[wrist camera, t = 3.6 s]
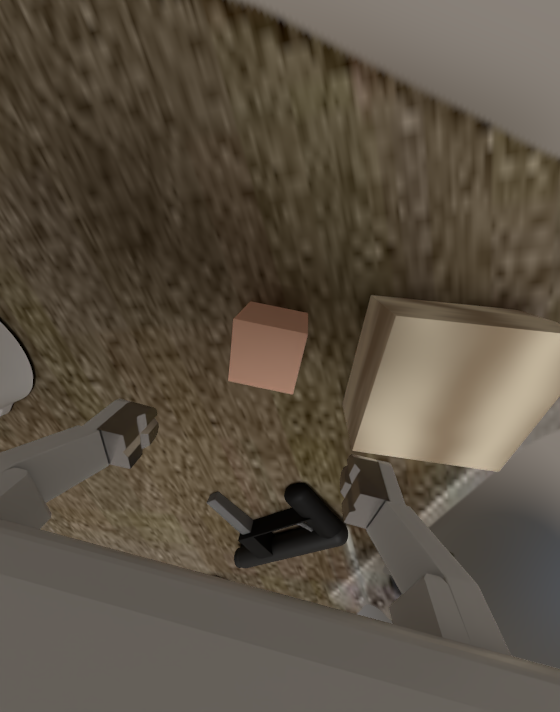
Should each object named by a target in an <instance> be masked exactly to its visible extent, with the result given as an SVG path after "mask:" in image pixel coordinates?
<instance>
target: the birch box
mask: <svg viewBox="0 0 560 712" xmlns="http://www.w3.org/2000/svg"><path fill="white" fill-rule="evenodd" d="M559 396H560V323H557V322H554V321H551V320H548V319H544V318H541V317H538V316H535V315H532V314H529V313H526V312H523V311H520V310H514V309H504V308H495V307H485V306H475V305H465V304H455V303H446V302H436V301H426V300H416V299H406V298H397V297H387V296H377V295H371V296H370V300H369V304H368V308H367V312H366V315H365V319H364V323H363V327H362V331H361V335H360V338H359V342H358V346H357V350H356V354H355V358H354V361H353V365H352V369H351V373H350V377H349V381H348V384H347V388H346V392H345V396H344V400H343V404H342V405H343V409H344V414H345V419H346V424H347V428H348V433H349V438H350V442H351V447H352V451H359V452H365V453H372V454H379V455H386V456H393V457H400V458H407V459H414V460H421V461H427V462H434V463H441V464H448V465H455V466H462V467H469V468H476V469H483V470H489V471H496V472H499V471H500V470H501V468H502V467H503V466H504V465H505V463H506V462H507V461H508V460H509V458H510V457H511V456H512V455H513V453H514V452H515V451H516V450H517V448H518V447H519V446H520V445H521V443H522V442H523V441H524V440H525V438H526V437H527V436H528V435H529V433H530V432H531V431H532V430H533V428H534V427H535V426H536V425H537V424H538V422H539V421H540V420H541V419H542V417H543V416H544V415H545V414H546V412H547V411H548V410H549V409H550V407H551V406H552V405H553V404H554V402H555V401H556V400H557V399H558V397H559Z"/></svg>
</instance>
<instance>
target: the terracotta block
mask: <svg viewBox="0 0 560 712" xmlns="http://www.w3.org/2000/svg"><path fill="white" fill-rule="evenodd" d="M307 336H308V313H305V312H300V311H296V310H291V309H286V308H281V307H276V306H271V305H266V304H261V303H257V302H252V301H250V302H249V303H248V304H247V305H246V306H245V307H244V308H243V309H242V310H241V311H240V312H239V314H238V315H237V316H236V317H235V318H234V319H233V331H232V343H231V355H230V367H229V379H228V381H231V382H236V383H241V384H245V385H250V386H255V387H259V388H264V389H269V390H274V391H278V392H283V393H288V394H292V395H293V392H294V388H295V384H296V380H297V376H298V372H299V368H300V364H301V360H302V356H303V352H304V348H305V344H306V340H307Z"/></svg>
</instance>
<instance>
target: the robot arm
mask: <svg viewBox="0 0 560 712" xmlns="http://www.w3.org/2000/svg"><path fill="white" fill-rule="evenodd" d="M32 386H33V373H32V369H31V366H30V363H29V361H28V358H27V356H26V354H25V353H24V351H23V349H22V348H21V346H20V345H19V343H18V342H17V340H16V339H15V338H14V336H13V335H12V334H11V333H10V332H9V331H8V329H7V328H6V327H5V326H4V325H3V324H2V323H1V322H0V416H2V415H5V414H7V413H8V412H9V411H10V410H11V407H12V404H13V403H14V402H16V401H18V400H21V399H23V398H25V397H26V396H27V395H28V394H29V393H30V391H31V389H32ZM156 416H157V410H156V408H154V407H150V406H146V405H143V404H139V403H135V402H131V401H127V400H123V399H118V400H115V401H114V402H112V403H111V404H110V405H109V406H107V407H106V408H105V409H103V410H102V411H101V412H100V413H98V414H97V415H96V416H95V417H93V418H92V419H91V420H89V421H88V422H87V423H86V424H84V425H83V426H75V427H73V428H70V429H67V430H64V431H61V432H58V433H55V434H53V435H50V436H47V437H44V438H41V439H38V440H35V441H33V442H30V443H27V444H24V445H21V446H18V447H16V448H13V449H10V450H7V451H4V452H1V453H0V712H560V669H558V668H554V667H550V666H547V665H543V664H539V663H535V662H532V661H528V660H524V659H520V658H517V657H513V656H511V654H510V652H509V650H508V648H507V646H506V643H505V641H504V639H503V637H502V635H501V633H500V631H499V628H498V626H497V624H496V622H495V620H494V618H493V616H492V614H491V612H490V610H489V607H488V605H487V603H486V601H485V599H484V597H483V595H482V593H481V591H480V588H479V586H478V585H477V583H476V582H475V581H474V580H473V579H472V578H471V577H470V575H469V574H468V573H467V572H466V571H465V570H464V569H463V568H462V566H461V565H460V564H459V563H458V562H457V561H456V559H455V558H454V557H453V556H452V555H451V554H450V552H449V551H448V550H447V549H446V548H445V547H444V546H443V544H442V543H441V542H440V541H439V540H438V539H437V537H436V536H435V535H434V534H433V533H432V532H431V531H430V529H429V528H428V527H427V526H426V525H425V524H424V523H423V521H422V520H421V519H420V518H419V517H418V516H417V515H416V513H415V512H414V511H413V510H412V509H411V508H410V507H408V506H406V505H405V502H404V499H403V497H402V494H401V491H400V488H399V485H398V482H397V479H396V477H395V474H394V471H393V468H392V465H391V464H390V463H387V462H383V461H379V460H375V459H371V458H366V457H362V456H357V455H353V454H351V455H350V456H349V457H348V459H347V464H348V465H347V466H345V467H343V470H342V472H341V477H340V492H341V494H342V495H343V496H344V500H343V502H342V512H343V521H344V523H347V524H351V525H354V526H358V527H362V528H365V529H367V530H366V531H367V533H368V534H369V536H370V538H371V540H372V541H373V543H374V545H375V547H376V549H377V550H378V552H379V554H380V556H381V557H382V559H383V561H384V563H385V565H386V566H387V568H388V570H389V572H390V573H391V575H392V577H393V579H394V581H395V582H396V584H397V586H398V588H399V589H400V591H401V593H402V595H401V596H400V597H399V598H398V599H396V600H395V601H394V602H393V603H392V604H391V606H390V607H389V608H390V613H391V618H392V623H393V624H391V623H387V622H383V621H379V620H376V619H372V618H368V617H364V616H361V615H357V614H353V613H350V612H346V611H342V610H338V609H335V608H331V607H327V606H324V605H320V604H316V603H312V602H309V601H305V600H301V599H298V598H294V597H290V596H286V595H283V594H279V593H275V592H271V591H268V590H264V589H260V588H257V587H253V586H249V585H245V584H242V583H238V582H234V581H230V580H227V579H223V578H219V577H216V576H212V575H208V574H204V573H201V572H197V571H193V570H190V569H186V568H182V567H178V566H175V565H171V564H167V563H163V562H160V561H156V560H152V559H149V558H145V557H141V556H137V555H134V554H130V553H126V552H122V551H119V550H115V549H111V548H108V547H104V546H100V545H96V544H93V543H89V542H85V541H81V540H78V539H74V538H70V537H67V536H63V535H59V534H55V533H52V532H48V531H44V530H40V528H41V527H42V526H43V525H44V524H45V523H46V522H47V521H48V520H49V519H50V518H51V512H50V510H49V508H48V506H47V505H46V502H48V501H50V500H51V499H53V498H55V497H56V496H58V495H60V494H61V493H63V492H65V491H67V490H68V489H70V488H72V487H73V486H75V485H77V484H78V483H80V482H82V481H84V480H85V479H87V478H89V477H90V476H92V475H94V474H95V473H97V472H99V471H100V470H102V469H104V468H106V467H107V466H109V464H111V465H115V466H120V467H125V468H129V469H131V467H132V466H133V465H134V464H135V463H136V461H137V460H138V459H139V458H140V457H141V455H142V449H143V448H145V447H147V446H149V445H150V444H151V443H152V442H153V440H154V439H155V437H156V435H157V433H158V428H159V426H158V422H157V420H156V419H155V417H156Z"/></svg>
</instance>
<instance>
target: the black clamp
mask: <svg viewBox="0 0 560 712" xmlns="http://www.w3.org/2000/svg"><path fill="white" fill-rule="evenodd" d="M284 497H285V500H286V502H287V503H288V504H289V505H290V506H291V507H292V508H290V509H287V510H284V511H281V512H277V513H274V514H271V515H268V516H265V517H262V518H259V519H256V520H252V519H251V518H250V517H249V516H248V515H246V514H245V513H244V512H243V511H241V510H240V509H239V508H238V507H236V506H235V505H234V504H233V503H232V502H230V501H229V500H228V499H227V498H225V497H224V496H223V495H222V494H221V493H219V492H216V493H213V494H211V495H210V497H209V499H208V501H207V504H209V505H210V506H211V507H212V508H213V509H214V510H215V511H216V512H218V513H219V514H220V515H221V516H222V517H223V518H224V519H225V520H226V521H228V522H229V523H230V524H231V525H232V526H233V527H234V528H235V529H236V530H238V531H239V532H240V536H239V540H238V541H239V542H240V543H241V544H242V545H243V546H241V547H240V548H238V549H237V550H236V552H235V555H234V561H235V565H236V566H237V567H238V568H249V567H253V566H257V565H262V564H266V563H270V562H274V561H279V560H283V559H287V558H291V557H295V556H300V555H304V554H308V553H312V552H316V551H321V550H325V549H329V548H333V547H337V546H341V545H343V544H345V543H346V541H347V539H348V530H347V527H346V525H345V524H344V523H343V522H342V521H341V520H339V519H337V518H336V517H335V515H334V514H333V513H332V512H331V511H330V510H329V509H328V508H327V507H326V505H325V504H324V503H323V502H322V501H321V500H320V499H319V498H318V497H317V496H316V494H315V493H314V492H313V491H312V490H311V489H310V488H309V487H308V486H307V485H306V484H304V483H296V484H293V485H291V486H289V487H288V488H287V489H286V491H285V494H284ZM306 522H307V523H306ZM293 525H299V526H301V527H303V528H300V529H296V530H293V531H289V532H286V533H283V534H279V535H275V534H273V533H272V532H273V531H276V530H279V529H283V528H286V527H289V526H293Z"/></svg>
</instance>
